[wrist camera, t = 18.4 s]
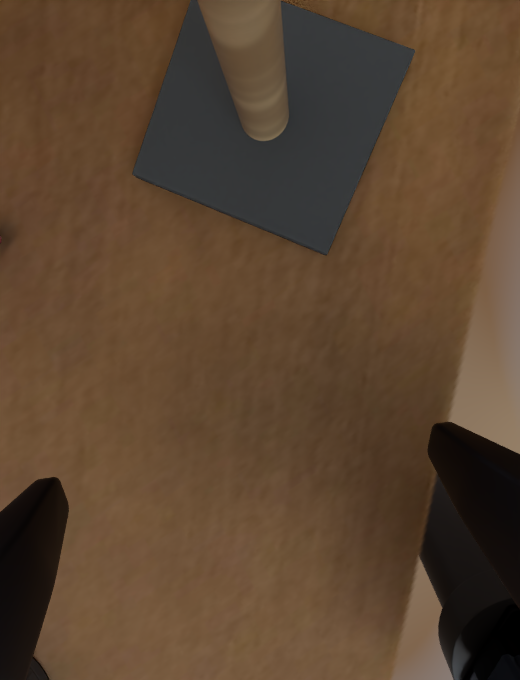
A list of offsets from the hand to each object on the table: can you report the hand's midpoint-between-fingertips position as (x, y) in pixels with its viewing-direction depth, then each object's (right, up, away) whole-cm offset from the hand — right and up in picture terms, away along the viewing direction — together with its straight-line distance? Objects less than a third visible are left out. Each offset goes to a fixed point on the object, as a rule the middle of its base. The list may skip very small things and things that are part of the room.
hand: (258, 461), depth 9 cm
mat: (0, +14, +10) cm, 17 cm away
